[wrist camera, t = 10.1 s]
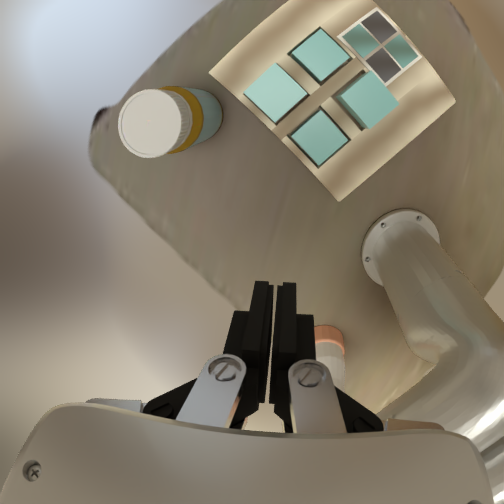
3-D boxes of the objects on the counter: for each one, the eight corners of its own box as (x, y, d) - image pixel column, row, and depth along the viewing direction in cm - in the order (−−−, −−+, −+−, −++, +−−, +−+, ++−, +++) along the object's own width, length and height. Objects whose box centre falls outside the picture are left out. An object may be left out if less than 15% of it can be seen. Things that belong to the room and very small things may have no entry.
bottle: (196, 79, 34) (145, 68, 21) (235, 113, 36) (203, 118, 23) (162, 118, 37) (101, 130, 24) (199, 151, 39) (152, 178, 25)
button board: (444, 100, 31) (458, 101, 27) (335, 194, 39) (339, 203, 36) (331, -22, 25) (335, -34, 22) (215, 75, 34) (207, 72, 30)
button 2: (342, 137, 35) (348, 140, 32) (316, 160, 37) (318, 165, 34) (317, 109, 34) (320, 110, 31) (290, 133, 36) (291, 136, 32)
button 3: (344, 61, 30) (350, 57, 27) (318, 83, 32) (321, 81, 29) (317, 35, 29) (320, 28, 26) (291, 57, 31) (291, 52, 28)
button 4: (305, 94, 30) (307, 93, 27) (276, 121, 32) (275, 122, 29) (276, 66, 29) (275, 62, 26) (247, 93, 31) (243, 92, 28)
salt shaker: (299, 327, 50) (298, 424, 33) (342, 322, 49) (357, 419, 32) (303, 356, 53) (302, 448, 36) (342, 352, 52) (353, 443, 35)
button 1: (389, 103, 29) (399, 103, 26) (362, 126, 31) (369, 129, 28) (363, 73, 28) (371, 70, 25) (335, 96, 30) (340, 96, 27)
